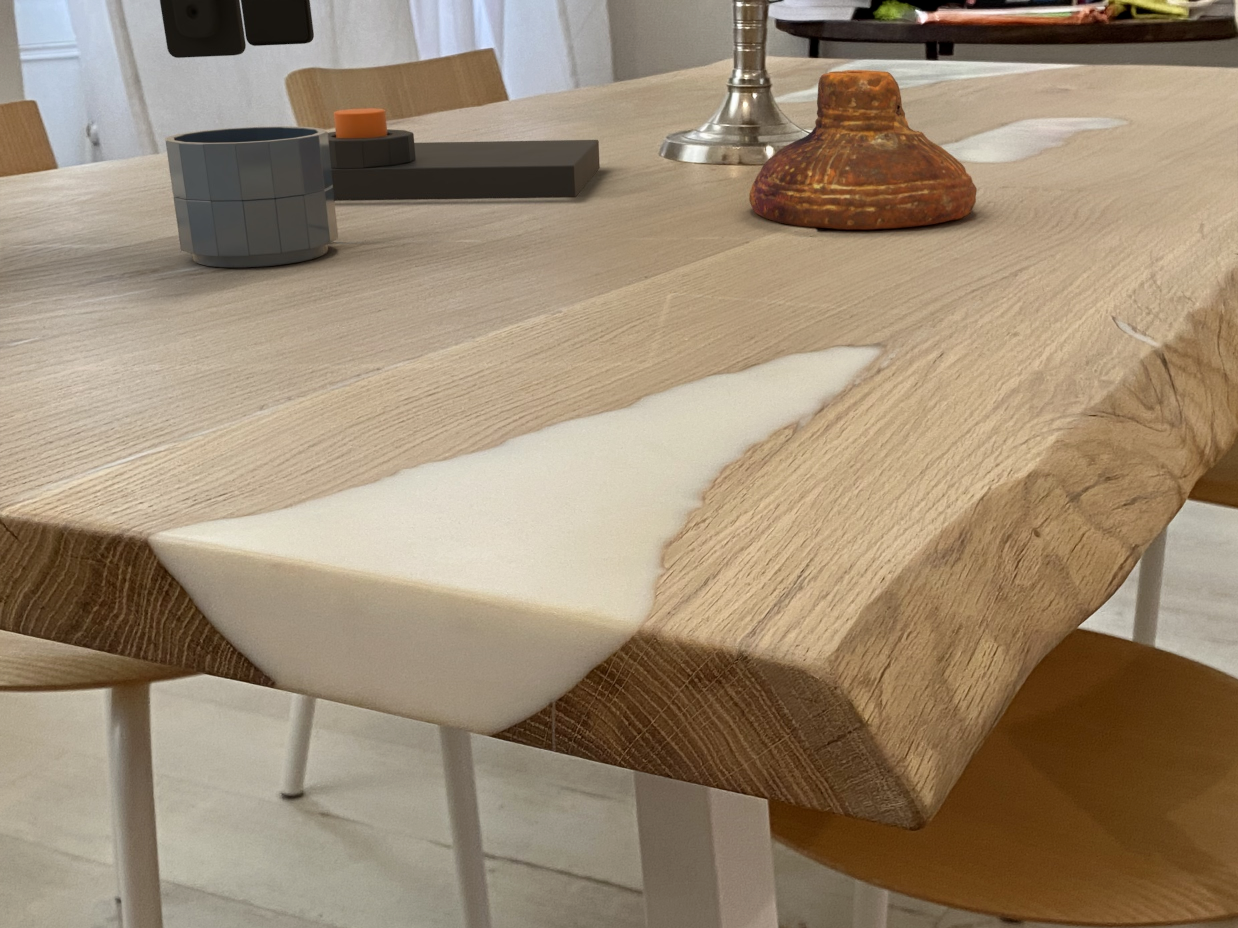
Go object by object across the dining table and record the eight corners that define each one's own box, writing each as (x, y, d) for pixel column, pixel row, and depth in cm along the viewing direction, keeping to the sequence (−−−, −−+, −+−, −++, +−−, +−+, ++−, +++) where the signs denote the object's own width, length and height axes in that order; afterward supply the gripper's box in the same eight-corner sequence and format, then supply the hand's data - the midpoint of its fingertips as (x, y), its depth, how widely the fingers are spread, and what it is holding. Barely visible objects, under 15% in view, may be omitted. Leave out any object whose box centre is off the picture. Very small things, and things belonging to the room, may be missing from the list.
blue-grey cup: (158, 270, 66) (139, 145, 64) (214, 242, 72) (199, 127, 71) (313, 269, 65) (299, 142, 63) (355, 240, 72) (344, 125, 70)
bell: (795, 192, 84) (796, 61, 81) (1001, 202, 79) (1009, 63, 76) (711, 224, 74) (709, 76, 71) (940, 238, 69) (946, 79, 66)
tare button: (330, 144, 85) (327, 113, 84) (344, 138, 88) (341, 108, 87) (380, 143, 85) (378, 112, 84) (393, 137, 87) (390, 108, 87)
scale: (303, 202, 85) (296, 141, 83) (362, 172, 97) (356, 118, 95) (575, 198, 83) (572, 136, 82) (599, 169, 96) (597, 114, 94)
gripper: (178, -337, 68) (232, 44, 74) (-6, -432, 52) (82, 66, 58) (334, -347, 67) (376, 37, 73) (197, -446, 51) (265, 58, 57)
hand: (247, 49), depth 66 cm, fingers open, 9 cm apart
